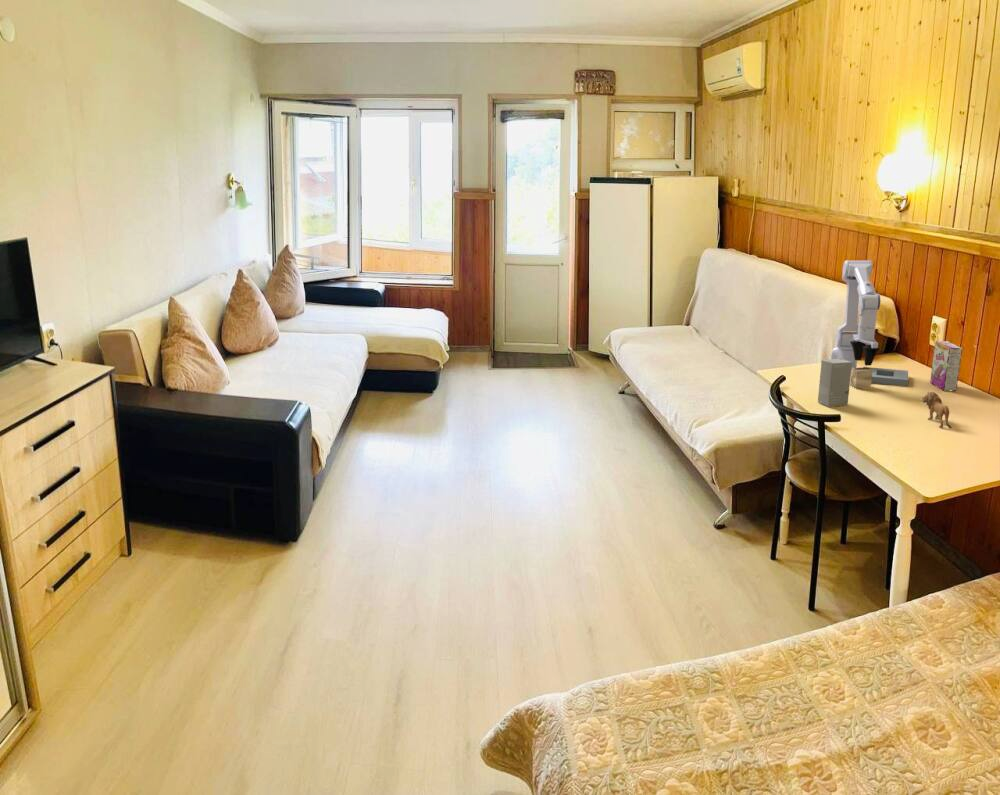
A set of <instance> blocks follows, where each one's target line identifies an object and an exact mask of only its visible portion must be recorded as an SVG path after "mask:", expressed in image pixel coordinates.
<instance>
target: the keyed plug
mask: <svg viewBox="0 0 1000 795" xmlns="http://www.w3.org/2000/svg"><path fill="white" fill-rule="evenodd" d="M868 367H869V366H863V367H856V368H852V370H851V377H850V386H849V387H851V386H852V387H851V388H853V387H854V388H853V389H855V388H861V389H871V386H872V383H871V379H872V371H873V370H871V369H870V368H868Z"/></svg>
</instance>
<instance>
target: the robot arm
mask: <svg viewBox="0 0 1000 795" xmlns="http://www.w3.org/2000/svg"><path fill="white" fill-rule="evenodd" d="M842 265H843V266H842V277H841V279H842V281H843V282H845V283H846V298H845V299H846V300H845V315H844V323H843V324H842V325H840V326H839V327H837V329H836V335H835V338H834V340H835V341H834V342H835V347H834V348H833V349H832V350H831V354H830V359H843V360H847V361H850V362H852V367H851V370H852V368H858V367H857V364H858V361H861V360H862V359H863V355H864V366H865V367H868V366H872V364H873V362H874V359H875V357H876V355H877V353H878V352H879V351H880V347H879V342H878V341H876V339H875V335H876V334H875V333H876V325H877V314H878V311H879V310H880V308H881V294H879V293H877V292H876V289H875V286H874V283H873V282H871V281H870V277H871V275H872V273H873V261H871V260H870V259H869V260H847V259H846V260H844V262H843V264H842ZM866 345H867V346H866Z"/></svg>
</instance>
